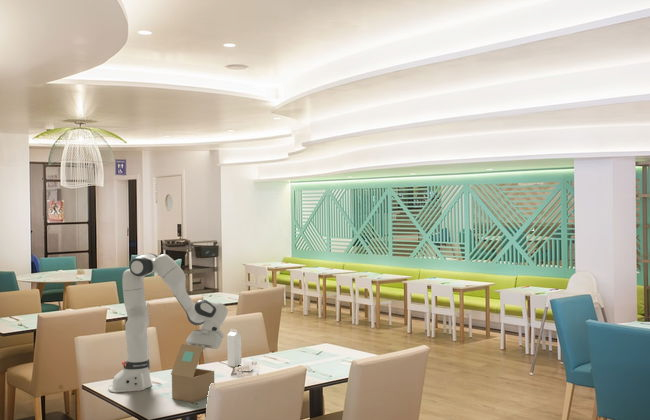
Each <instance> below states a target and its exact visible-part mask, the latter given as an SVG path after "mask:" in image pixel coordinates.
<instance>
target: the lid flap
mask: <svg viewBox="0 0 650 420" xmlns="http://www.w3.org/2000/svg"><path fill="white" fill-rule="evenodd" d="M202 350H203V347H202V346H194V345H188V344H187V343H186V344H184V343H181V345H180V348H179V350H178V353H177V356H176V359H175V361H174V365H173V367H172V370H171V372H170V375H171V376H172V375H176V376H182V377H188V378H193V377H194V374H195V371H196V368H197V367H198V364H199V361H200V359H201V356H202V352H203V351H204V350H203V351H202Z"/></svg>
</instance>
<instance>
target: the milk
mask: <svg viewBox="0 0 650 420" xmlns="http://www.w3.org/2000/svg"><path fill="white" fill-rule="evenodd" d="M226 337H227V342H226V343H227V347H226V349H227V367H230V368H231V367H232V368H236V367H235V366H237V367H239V366H238V365H240V364H242V334H241V333H240V332H238V329H234V328H230V330H229V332H228V334H226Z"/></svg>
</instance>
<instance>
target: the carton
mask: <svg viewBox="0 0 650 420" xmlns="http://www.w3.org/2000/svg"><path fill="white" fill-rule="evenodd" d="M211 383H214V384H215V370H212V369H211V370H210V369H203V368H196V371H195V374H194V377H193V378H188V377H182V376H176V375H171V399H172V400H177V401H182V402H183V401H184V402H188V403H196V402H198V401H200V400H203V399H205V398H206V399H207V398H208V397H207V395H208V391H209V386H210V384H211Z"/></svg>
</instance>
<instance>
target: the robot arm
mask: <svg viewBox="0 0 650 420" xmlns="http://www.w3.org/2000/svg"><path fill="white" fill-rule="evenodd" d="M154 273H156V274H157V275H158V276H159V277H160V278H161V280H163V282H164V283H165V285H167V287H168V288H169V289H170V291H171V293H172V294H173V296H174V298H175V299H176V301H177V302H178V303H179V304H180V306H181V307H182V309H183V310H184V312H185V314H186V318H187V320H188V322H189V323H190V324H192V325H194V326H201V327H200V329H195V330H193V331H192V332H190V334H189V335H188V337H187V338H186V340H185V343H186V345H194V346H202V347H203V350H202V352H203V351H204V350H206V349H214V350H217V349H219V348H220V346H221V343H222V341H223V338H224V337H225V334H224V333H223V331H222V330H221V326H222V325H223V324H224V322H225V320H226V318H227V316H228V308H227V306H226V305H225V304H224V303H221V302H219V301H218V302H211V301H208V300H206V299H198V300H197V301H196V302H194V301H193V299H192V298H191V296H190V295H189V294H188V292H187V289H186V281H187V276H186V274H185V272H184V270H183V269H182V268H181V266H180V265H179V264H178V263H177V262H176V261H175V260H174V259H173V258H172V257H170V256H169V255H168V254H164V253H163V254H159V255H157V254H154V253H145V254H141V255H138V256H135V257H134V258H133V259H131V261H130V262H129V268H128V269H125V271H123V273H122V281H121V283H122V293H123V303H124V305H123V306H124V307H125V311H126V316H127V321H126V322H125V323H124V324H125V326H124V327H125V338H126V339H125V340H126V352H127V353H126V355H127V356H126V357H127V360H126V361H125V360H122V361H121V364H122V365H123V368H122V369H121V370H120V371H119V372H117V373H116V374H115V375H114V377H113V380H112V384H110V385H109V386H108V388H107V389H108V391H109V392H111V393H126V392H136V391H137V392H140V391H144V390H146V389H147V388H148V389H149V388H151V387H152V386H153V383H152V380H151V375H150V368H151V367H150V366H151V364H150V363H151V362H150V361H151V360H150V359H149V358H150V357H149V355H150V354H149V341H148V339H149V338H148V327H149V325H150V319H149V312H148V307H147V303H146V302H147V301H146V293H145V286H144V283H145V282H144V279H145V277H146V276H148V275H151V274H154Z"/></svg>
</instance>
